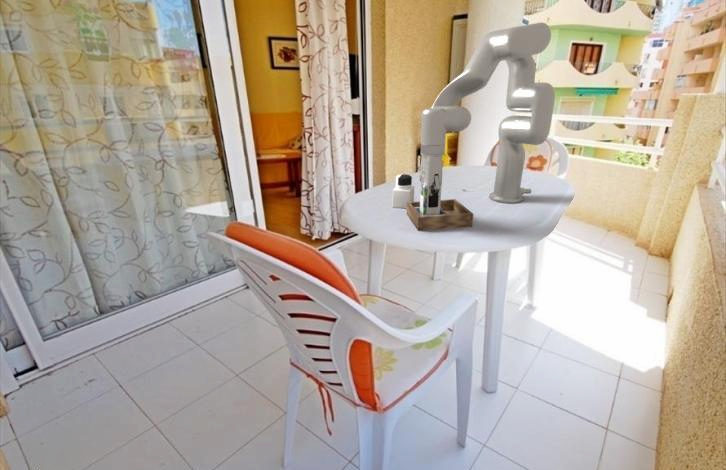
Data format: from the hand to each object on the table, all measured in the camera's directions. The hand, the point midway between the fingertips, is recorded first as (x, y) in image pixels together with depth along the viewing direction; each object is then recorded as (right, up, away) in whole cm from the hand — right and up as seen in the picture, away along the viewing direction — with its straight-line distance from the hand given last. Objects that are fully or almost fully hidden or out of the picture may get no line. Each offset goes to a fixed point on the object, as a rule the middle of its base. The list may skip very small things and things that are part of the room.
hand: (430, 203), depth 114 cm
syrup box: (0, -4, +2) cm, 5 cm away
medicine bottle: (-7, +1, +18) cm, 20 cm away
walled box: (+3, -5, +3) cm, 7 cm away
